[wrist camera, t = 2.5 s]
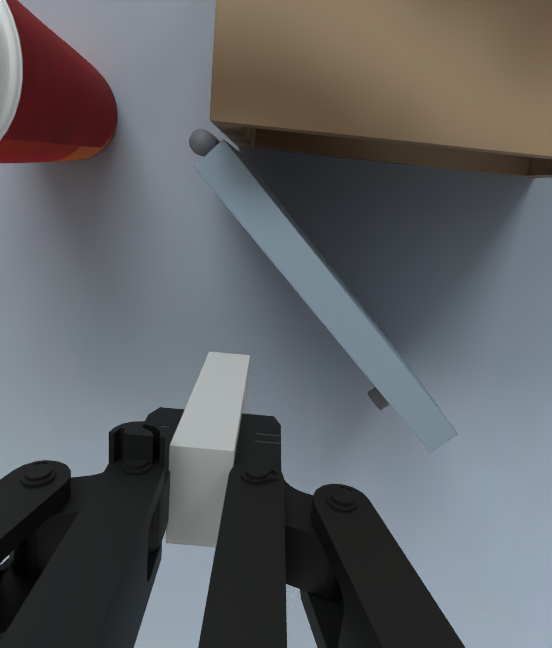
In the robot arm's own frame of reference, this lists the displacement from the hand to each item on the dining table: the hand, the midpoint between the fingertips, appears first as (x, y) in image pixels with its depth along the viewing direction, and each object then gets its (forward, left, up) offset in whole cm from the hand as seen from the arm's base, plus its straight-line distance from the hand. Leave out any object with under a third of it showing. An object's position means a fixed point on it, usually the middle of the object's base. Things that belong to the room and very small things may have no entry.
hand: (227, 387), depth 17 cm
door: (-2, +4, -13) cm, 13 cm away
